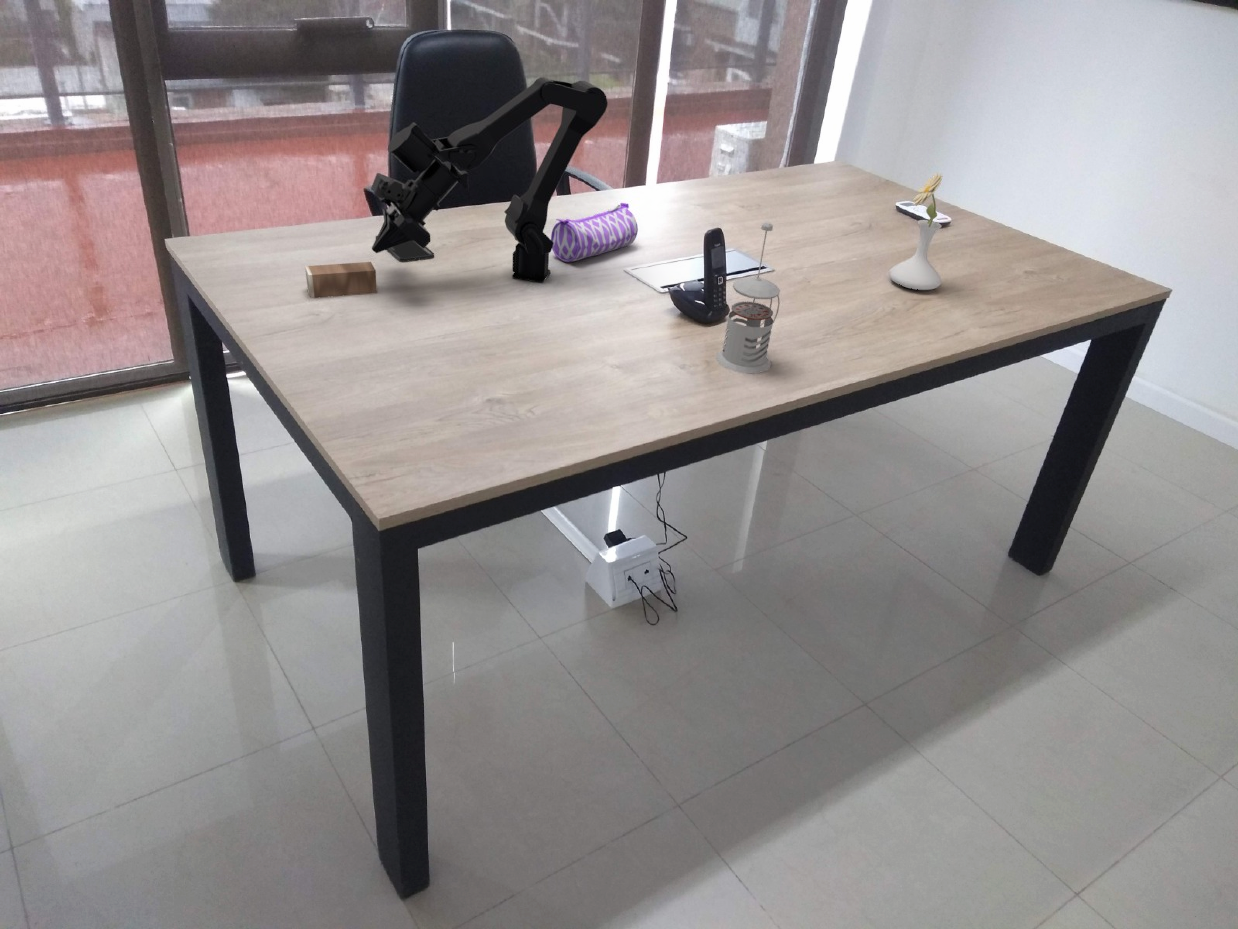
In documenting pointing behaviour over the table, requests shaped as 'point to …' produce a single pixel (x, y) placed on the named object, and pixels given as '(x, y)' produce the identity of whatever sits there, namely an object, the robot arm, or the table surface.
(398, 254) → the phone
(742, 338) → the french press
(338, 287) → the walnut block
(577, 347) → the table surface
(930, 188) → the flower in vase
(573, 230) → the pencil case
